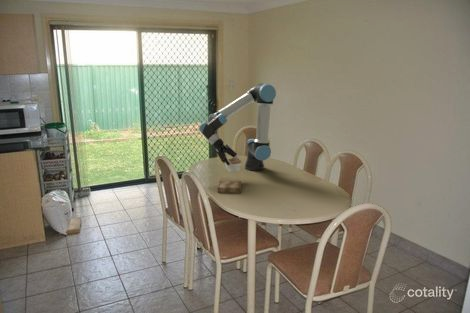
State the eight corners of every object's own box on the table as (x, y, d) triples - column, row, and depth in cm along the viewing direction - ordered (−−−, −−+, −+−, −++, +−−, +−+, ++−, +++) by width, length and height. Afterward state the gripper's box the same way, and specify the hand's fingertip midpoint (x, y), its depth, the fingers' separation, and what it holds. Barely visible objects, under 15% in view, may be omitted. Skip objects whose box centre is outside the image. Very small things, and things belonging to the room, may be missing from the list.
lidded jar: (243, 169, 245) (242, 156, 242) (238, 174, 235) (237, 160, 232) (228, 168, 248) (228, 155, 246) (223, 173, 238) (222, 159, 236)
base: (241, 185, 233) (241, 181, 232) (240, 192, 219) (240, 188, 219) (220, 185, 234) (220, 180, 233) (217, 192, 220) (217, 187, 220)
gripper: (221, 141, 254) (240, 165, 251) (204, 148, 234) (225, 173, 231) (227, 135, 250) (247, 158, 247) (210, 141, 230) (232, 167, 227)
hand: (236, 166), depth 239 cm, fingers closed on lidded jar, 11 cm apart
